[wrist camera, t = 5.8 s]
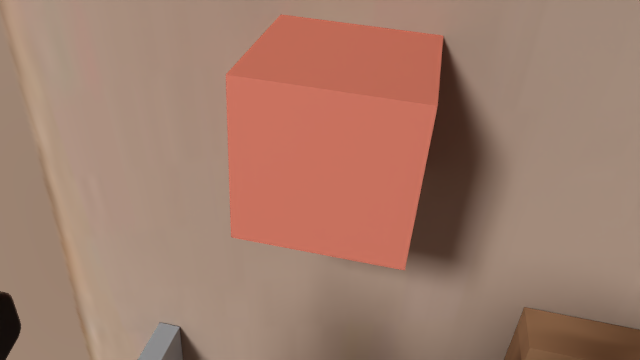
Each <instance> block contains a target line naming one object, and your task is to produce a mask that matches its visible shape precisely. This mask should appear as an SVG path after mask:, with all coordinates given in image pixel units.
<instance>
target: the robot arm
mask: <svg viewBox="0 0 640 360" xmlns="http://www.w3.org/2000/svg"><path fill="white" fill-rule="evenodd" d="M20 330H21V323H20V319H19V316H18V314H17V310H16V308H15V305H14V302H13V299H12V297H11V295H9V294H8V293H5V292H1V291H0V360H6V358H7V356H8V355H9V353H10V351H11V349H12V347H13V346H14V344H15V342H16V340H17V339H18V336H19V333H20Z"/></svg>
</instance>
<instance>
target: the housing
mask: <svg viewBox="0 0 640 360" xmlns="http://www.w3.org/2000/svg"><path fill="white" fill-rule="evenodd" d="M504 360H640V330H637V329H632V328H627V327H622V326H617V325H612V324H607V323H602V322H597V321H592V320H587V319H581V318H576V317H571V316H566V315H561V314H556V313H551V312H546V311H541V310H536V309H531V308H526V307H524V310H523V312H522V315H521V317H520V320H519V322H518V325H517V328H516V330H515V333H514V335H513V338H512V340H511V343H510V346H509V348H508V351H507V353H506V356H505V358H504Z"/></svg>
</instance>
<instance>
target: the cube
mask: <svg viewBox="0 0 640 360" xmlns="http://www.w3.org/2000/svg"><path fill="white" fill-rule="evenodd" d="M442 46H443V36H441V35H434V34H426V33H418V32H411V31H403V30H395V29H388V28H380V27H372V26H365V25H357V24H349V23H342V22H334V21H326V20H319V19H311V18H303V17H296V16H288V15H280V16H279V17H278V18H277V19H276V20H275V22H274V23H273V24H272V25H271V26H270V27H269V28H268V29H267V30H266V31H265V32H264V34H263V35H262V36H261V37H260V38H259V39H258V40H257V41H256V42H255V43H254V44H253V46H252V47H251V48H250V49H249V50H248V51H247V52H246V53H245V54H244V55H243V56H242V58H241V59H240V60H239V61H238V62H237V63H236V64H235V65H234V66H233V67H232V68H231V69H230V71H229V72H228V73H227V74H226V95H227V126H228V156H229V187H230V217H231V237H233V238H238V239H243V240H248V241H254V242H259V243H264V244H269V245H275V246H280V247H285V248H290V249H296V250H301V251H306V252H311V253H317V254H322V255H327V256H332V257H338V258H343V259H348V260H353V261H359V262H364V263H369V264H374V265H379V266H385V267H390V268H395V269H400V270H405V266H406V261H407V256H408V251H409V246H410V241H411V236H412V231H413V226H414V221H415V217H416V212H417V207H418V202H419V197H420V192H421V187H422V182H423V177H424V172H425V167H426V162H427V157H428V152H429V147H430V142H431V137H432V132H433V127H434V122H435V117H436V112H437V107H438V96H439V83H440V71H441V59H442Z"/></svg>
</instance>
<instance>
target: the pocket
mask: <svg viewBox="0 0 640 360" xmlns="http://www.w3.org/2000/svg"><path fill="white" fill-rule="evenodd" d="M138 360H183V355H182V346H181V336H180V327H178V326H173V325H169V324H164V323H159V325H158V326H157V328H156V330H155V331H154V333H153V335H152V336H151V338H150V340H149V342H148V343H147V345H146V347H145V348H144V350H143V352H142V353H141V355H140V357H139V358H138Z"/></svg>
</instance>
